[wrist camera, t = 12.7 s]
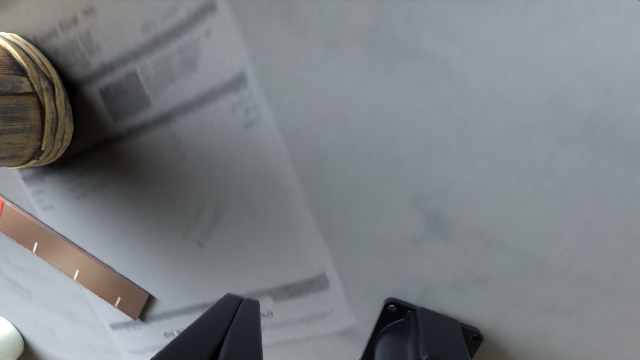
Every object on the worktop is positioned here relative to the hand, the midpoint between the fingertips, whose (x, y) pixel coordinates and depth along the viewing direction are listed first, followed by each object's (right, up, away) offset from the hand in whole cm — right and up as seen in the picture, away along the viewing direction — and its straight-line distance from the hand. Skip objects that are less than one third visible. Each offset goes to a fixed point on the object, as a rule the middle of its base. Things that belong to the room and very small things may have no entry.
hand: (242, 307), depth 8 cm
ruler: (-21, -1, +18) cm, 27 cm away
